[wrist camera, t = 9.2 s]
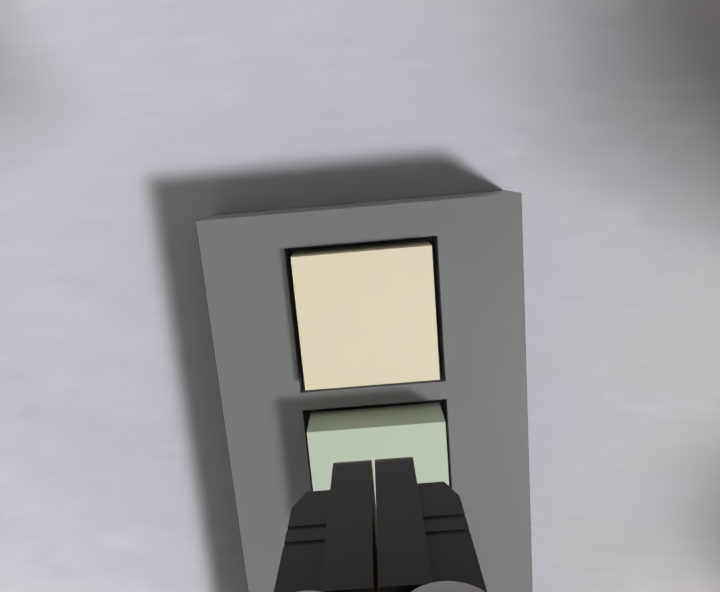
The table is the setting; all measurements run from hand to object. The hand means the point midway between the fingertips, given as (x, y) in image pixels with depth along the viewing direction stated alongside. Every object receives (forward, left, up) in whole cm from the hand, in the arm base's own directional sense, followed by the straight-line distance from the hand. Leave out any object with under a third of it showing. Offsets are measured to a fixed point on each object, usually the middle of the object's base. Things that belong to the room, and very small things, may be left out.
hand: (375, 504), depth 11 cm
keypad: (+6, +4, -17) cm, 18 cm away
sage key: (+6, +4, -14) cm, 16 cm away
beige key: (0, 0, -15) cm, 15 cm away
